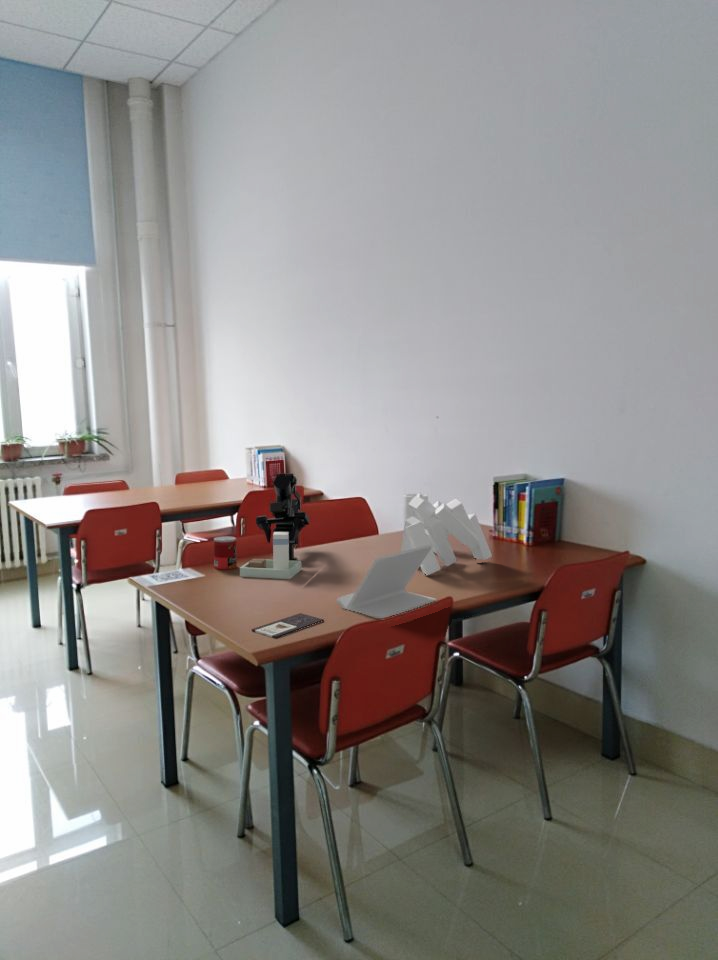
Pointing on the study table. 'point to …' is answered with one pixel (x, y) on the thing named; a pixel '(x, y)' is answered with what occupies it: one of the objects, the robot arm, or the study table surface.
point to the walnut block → (257, 563)
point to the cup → (407, 509)
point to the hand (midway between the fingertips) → (280, 541)
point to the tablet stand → (388, 586)
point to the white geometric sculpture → (442, 532)
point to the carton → (281, 550)
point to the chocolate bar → (286, 625)
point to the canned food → (225, 553)
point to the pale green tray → (271, 570)
